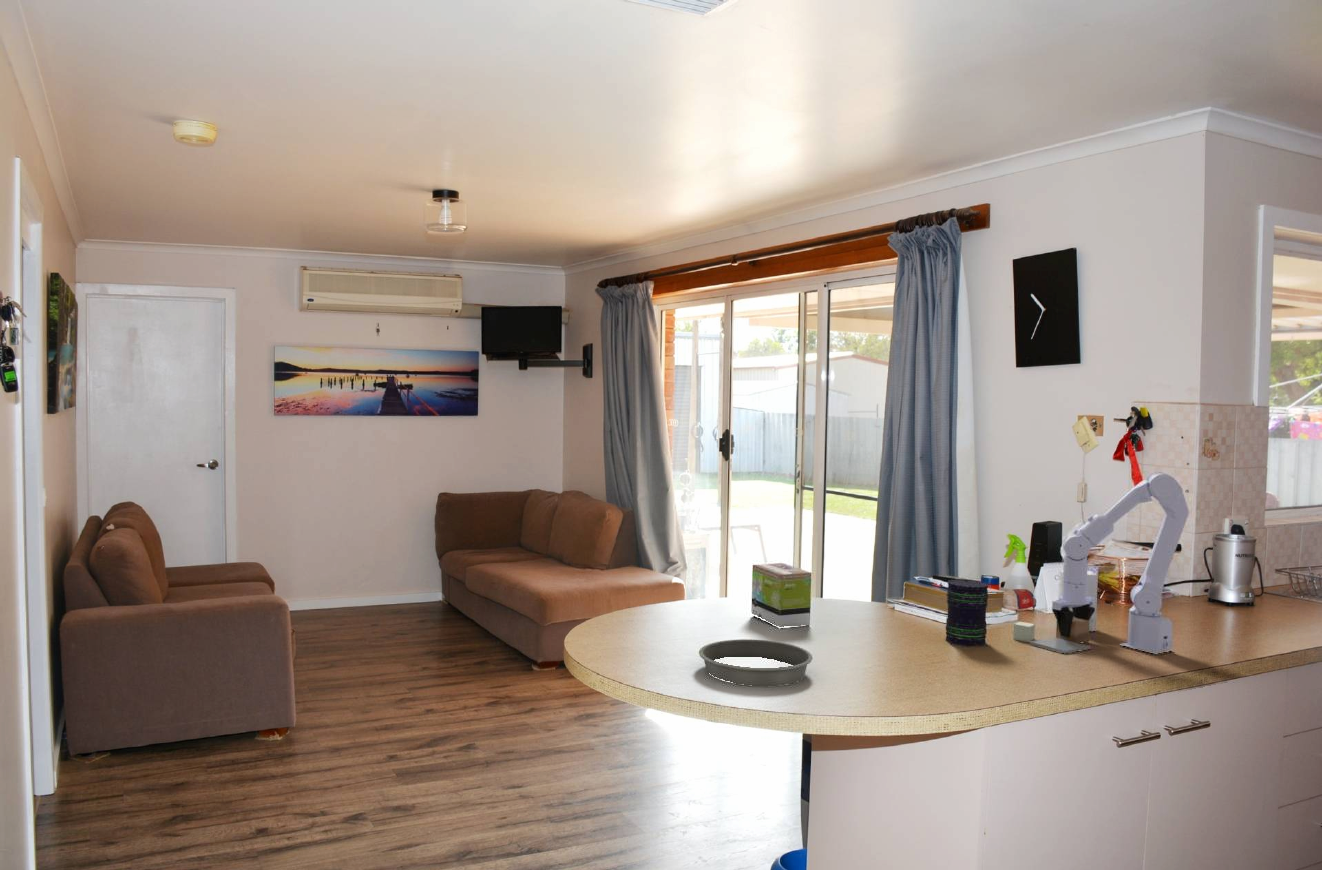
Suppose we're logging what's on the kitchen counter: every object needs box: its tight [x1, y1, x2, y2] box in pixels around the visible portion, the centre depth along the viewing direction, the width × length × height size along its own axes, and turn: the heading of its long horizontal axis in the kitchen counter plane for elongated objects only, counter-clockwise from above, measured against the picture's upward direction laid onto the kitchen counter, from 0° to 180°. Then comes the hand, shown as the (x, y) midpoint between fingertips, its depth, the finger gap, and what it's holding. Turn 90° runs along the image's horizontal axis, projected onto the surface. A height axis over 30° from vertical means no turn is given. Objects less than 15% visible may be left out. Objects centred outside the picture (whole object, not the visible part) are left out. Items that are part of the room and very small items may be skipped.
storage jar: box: [945, 578, 989, 648], centre depth 238 cm, size 10×10×15 cm
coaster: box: [1029, 636, 1092, 655], centre depth 236 cm, size 10×10×1 cm
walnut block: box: [1055, 617, 1090, 644], centre depth 243 cm, size 6×6×6 cm
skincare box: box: [1058, 569, 1099, 632], centre depth 256 cm, size 8×7×16 cm
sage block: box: [1012, 621, 1036, 643], centre depth 243 cm, size 4×4×4 cm
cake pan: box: [698, 638, 813, 687], centre depth 206 cm, size 25×25×4 cm
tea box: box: [750, 562, 812, 627], centre depth 255 cm, size 15×10×15 cm, turn 25°
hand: (1072, 635), depth 243 cm, fingers closed on walnut block, 5 cm apart
